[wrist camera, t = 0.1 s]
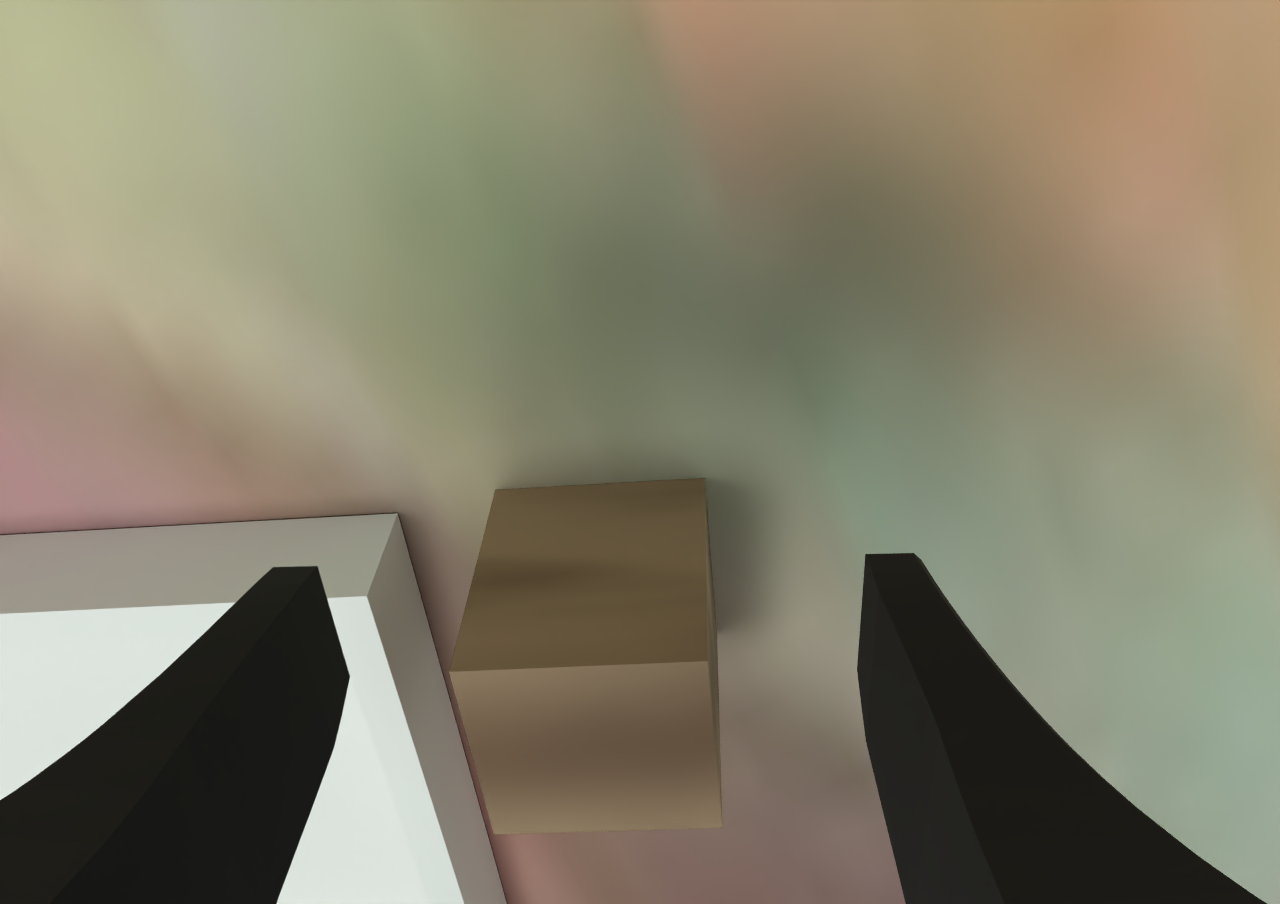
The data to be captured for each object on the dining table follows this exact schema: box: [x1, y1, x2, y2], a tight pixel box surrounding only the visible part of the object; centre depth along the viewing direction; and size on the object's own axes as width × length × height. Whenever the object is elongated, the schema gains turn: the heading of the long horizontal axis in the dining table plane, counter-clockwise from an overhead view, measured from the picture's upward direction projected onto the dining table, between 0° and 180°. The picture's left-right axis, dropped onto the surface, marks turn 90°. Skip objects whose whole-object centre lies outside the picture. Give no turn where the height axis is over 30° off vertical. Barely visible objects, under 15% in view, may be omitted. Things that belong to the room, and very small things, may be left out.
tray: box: [0, 513, 507, 904], centre depth 31 cm, size 18×18×3 cm
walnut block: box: [449, 478, 722, 834], centre depth 24 cm, size 5×5×6 cm
